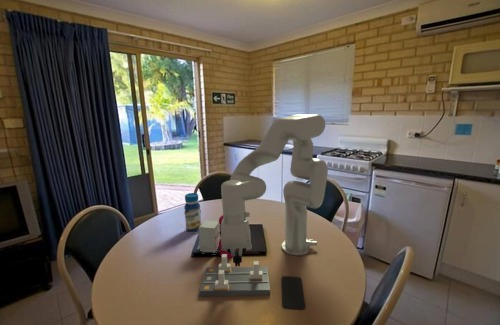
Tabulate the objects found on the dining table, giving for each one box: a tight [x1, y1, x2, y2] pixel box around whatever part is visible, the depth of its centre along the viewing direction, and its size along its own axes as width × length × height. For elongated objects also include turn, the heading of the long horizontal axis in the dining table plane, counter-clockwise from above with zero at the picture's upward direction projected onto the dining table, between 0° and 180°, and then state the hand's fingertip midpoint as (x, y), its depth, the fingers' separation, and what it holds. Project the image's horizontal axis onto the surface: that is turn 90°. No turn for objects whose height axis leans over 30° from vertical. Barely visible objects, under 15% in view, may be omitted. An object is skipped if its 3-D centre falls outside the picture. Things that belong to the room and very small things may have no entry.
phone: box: [281, 275, 306, 311], centre depth 83 cm, size 7×1×15 cm
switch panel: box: [199, 266, 271, 297], centre depth 88 cm, size 24×13×2 cm, turn 90°
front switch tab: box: [215, 270, 229, 289], centre depth 82 cm, size 4×2×6 cm, turn 90°
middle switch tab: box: [250, 260, 263, 279], centre depth 87 cm, size 4×2×6 cm, turn 90°
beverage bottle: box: [183, 192, 202, 234], centre depth 127 cm, size 8×8×20 cm
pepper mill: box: [218, 214, 233, 259], centre depth 104 cm, size 7×7×20 cm
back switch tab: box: [218, 254, 232, 271], centre depth 92 cm, size 4×2×6 cm, turn 90°
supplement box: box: [198, 220, 221, 253], centre depth 109 cm, size 7×7×13 cm
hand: (237, 263), depth 86 cm, fingers closed
